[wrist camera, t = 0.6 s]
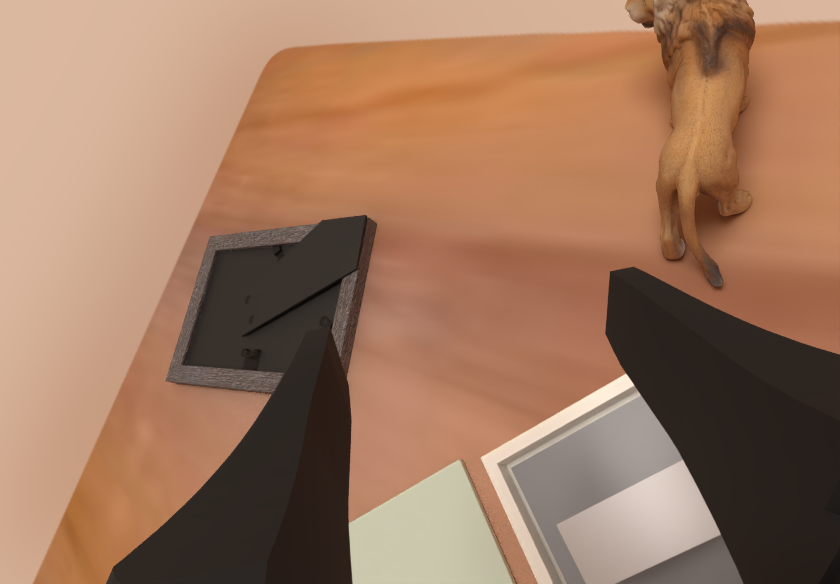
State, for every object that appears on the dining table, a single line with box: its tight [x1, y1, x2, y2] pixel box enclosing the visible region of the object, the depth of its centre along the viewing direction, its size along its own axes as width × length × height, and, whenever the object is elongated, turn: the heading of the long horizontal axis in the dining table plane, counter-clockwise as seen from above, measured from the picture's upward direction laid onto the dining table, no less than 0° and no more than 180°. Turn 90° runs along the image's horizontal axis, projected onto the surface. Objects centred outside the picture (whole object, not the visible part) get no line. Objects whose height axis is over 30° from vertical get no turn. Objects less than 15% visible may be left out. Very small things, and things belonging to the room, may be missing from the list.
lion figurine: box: [625, 0, 756, 286], centre depth 25 cm, size 15×5×9 cm, turn 175°
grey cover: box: [511, 396, 743, 584], centre depth 20 cm, size 9×9×4 cm
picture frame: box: [166, 215, 377, 394], centre depth 41 cm, size 13×2×18 cm
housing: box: [481, 374, 641, 584], centre depth 22 cm, size 11×11×4 cm
